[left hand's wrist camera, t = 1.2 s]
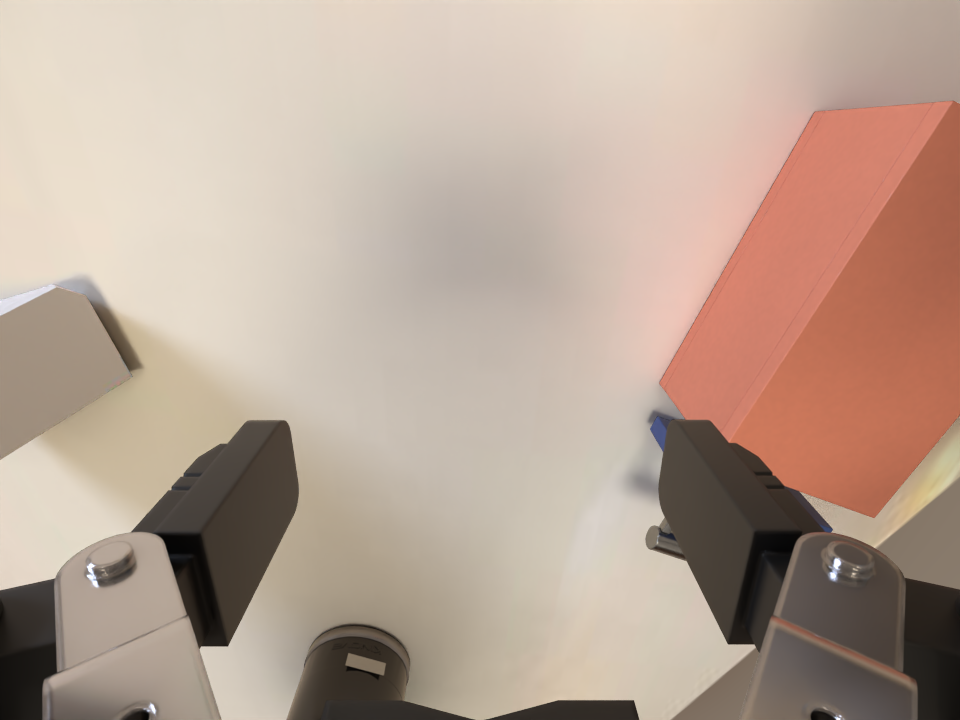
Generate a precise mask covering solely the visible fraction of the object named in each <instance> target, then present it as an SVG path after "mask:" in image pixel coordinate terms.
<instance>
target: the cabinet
mask: <svg viewBox="0 0 960 720" xmlns="http://www.w3.org/2000/svg"><path fill="white" fill-rule="evenodd" d="M659 384H660V385H661V386H662V388H663V389H664V390H665V392H666V393H667V394H668V396H669V397H670V398H671V400H672V401H673V403H674V404H675V405H676V407H677V408H678V409H679V411H680V412H681V414H682V415H683V416H684V418H685V419H686V420H710V421H711V422H712V423H713V424H714V425H715V427H716V428H717V429H718V430H719V431H720V433H721V434H722V435H723V436H724V437H725V439H726V440H727V441H728V442H729V443H737V444H739V445H740V446H742V447H744V448H745V449H747V450H749V451H750V452H752V453H754V454H755V455H757V456H758V457H759V458H760V459H761V460H762V461H763V462H764V463H765V464H766V466H767V467H768V468H769V469H770V470H771V471H772V472H773V476H776V477H777V478H778V479H779V480H780V481H781V482H782V484H783V485H784V486H786V487H789V488H792V489H795V490H797V491H800V492H803V493H806V494H808V495H811V496H814V497H817V498H820V499H822V500H825V501H828V502H831V503H834V504H836V505H839V506H842V507H845V508H847V509H850V510H853V511H856V512H859V513H861V514H864V515H867V516H870V517H873V518H875V517H876V515H877V514H878V513H879V512H880V511H881V509H882V508H883V507H884V506H885V505H886V503H887V502H888V501H889V500H890V499H891V497H892V496H893V495H894V494H895V492H896V491H897V490H898V489H899V488H900V486H901V485H902V484H903V483H904V482H905V480H906V479H907V478H908V477H909V476H910V474H911V473H912V472H913V471H914V470H915V468H916V467H917V466H918V465H919V464H920V462H921V461H922V460H923V459H924V458H925V456H926V455H927V454H928V453H929V451H930V450H931V449H932V448H933V447H934V445H935V444H936V443H937V442H938V441H939V439H940V438H941V437H942V436H943V435H944V433H945V432H946V431H947V430H948V429H949V427H950V426H951V425H952V424H953V423H954V421H955V420H956V419H957V418H958V417H959V415H960V104H959V103H957V102H955V101H944V102H935V103H921V104H908V105H896V106H883V107H870V108H858V109H845V110H832V111H818V112H814V114H813V116H812V118H811V119H810V121H809V123H808V125H807V126H806V128H805V130H804V132H803V133H802V135H801V137H800V139H799V140H798V142H797V144H796V146H795V147H794V149H793V151H792V153H791V154H790V156H789V158H788V160H787V161H786V163H785V165H784V166H783V168H782V170H781V172H780V173H779V175H778V177H777V179H776V180H775V182H774V184H773V186H772V187H771V189H770V191H769V193H768V194H767V196H766V198H765V200H764V201H763V203H762V205H761V207H760V208H759V210H758V212H757V214H756V215H755V217H754V219H753V221H752V222H751V224H750V226H749V228H748V229H747V231H746V233H745V235H744V236H743V238H742V240H741V242H740V243H739V245H738V247H737V249H736V250H735V252H734V254H733V256H732V257H731V259H730V261H729V262H728V264H727V266H726V268H725V269H724V271H723V273H722V275H721V276H720V278H719V280H718V282H717V283H716V285H715V287H714V289H713V290H712V292H711V294H710V296H709V297H708V299H707V301H706V303H705V304H704V306H703V308H702V310H701V311H700V313H699V315H698V317H697V318H696V320H695V322H694V324H693V325H692V327H691V329H690V331H689V332H688V334H687V336H686V338H685V339H684V341H683V343H682V345H681V346H680V348H679V350H678V352H677V353H676V355H675V357H674V359H673V360H672V362H671V364H670V365H669V367H668V369H667V371H666V372H665V374H664V376H663V378H662V379H661V381H660V383H659Z"/></svg>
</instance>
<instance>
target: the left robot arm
mask: <svg viewBox="0 0 960 720" xmlns="http://www.w3.org/2000/svg"><path fill="white" fill-rule="evenodd" d="M298 494H299V486H298V478H297V471H296V464H295V458H294V451H293V444H292V438H291V431H290V427H289V425H288V423H287V422H286V421H284V420H250V421H247V422H246V423H245V424H244V425H243V426H242V427H241V428H240V430H239V431H238V432H237V433H236V434H235V435H234V437H233V438H232V439H231V440H230V441H229V443H228V444H219V445H218V446H216V447H215V448H213V449H211V450H210V451H208V452H206V453H205V454H203V455H201V456H200V457H198V458H197V459H196V460H195V462H194V463H193V464H192V465H191V466H190V467H189V468H188V469H187V470H186V472H185V473H184V476H183V477H180V478H179V479H178V480H177V482H176V483H175V484H174V485H173V486H172V490H168V492H167V493H166V494H165V495H164V496H163V497H162V498H161V499H160V500H159V502H158V503H157V504H156V505H155V506H154V507H153V508H152V509H151V510H150V512H149V513H148V514H147V515H146V516H145V517H144V518H143V519H142V521H141V522H140V523H139V524H138V525H137V526H136V527H135V528H134V529H133V531H132V532H131V533H124V534H120V535H116V536H112V537H109V538H106V539H104V540H101V541H99V542H96V543H94V544H92V545H90V546H88V547H87V548H85V549H83V550H82V551H80V552H79V553H77V554H76V555H74V556H73V557H72V558H71V559H70V560H68V561H67V562H66V563H65V564H64V565H63V566H62V568H61V569H60V570H59V572H58V573H57V576H56V578H55V579H51V580H47V581H42V582H37V583H33V584H28V585H24V586H19V587H14V588H10V589H5V590H0V720H221V717H220V714H219V710H218V707H217V704H216V701H215V698H214V695H213V691H212V688H211V685H210V682H209V679H208V675H207V672H206V669H205V666H204V663H203V660H202V656H201V653H200V650H199V649H200V647H201V646H228V645H229V643H230V641H231V639H232V637H233V635H234V633H235V631H236V629H237V627H238V625H239V623H240V621H241V619H242V617H243V615H244V613H245V611H246V609H247V607H248V605H249V603H250V601H251V599H252V597H253V595H254V593H255V591H256V589H257V587H258V585H259V583H260V581H261V579H262V577H263V575H264V573H265V571H266V569H267V567H268V565H269V563H270V561H271V559H272V557H273V555H274V553H275V551H276V549H277V547H278V545H279V543H280V541H281V539H282V537H283V535H284V534H285V532H286V530H287V528H288V526H289V524H290V522H291V520H292V518H293V516H294V513H295V511H296V507H297V503H298ZM659 500H660V505H661V509H662V512H663V514H664V516H665V518H666V520H667V522H668V524H669V526H670V528H671V530H672V532H673V534H674V536H675V538H676V540H677V542H678V544H679V546H680V548H681V550H682V552H683V554H684V556H685V558H686V560H687V562H688V565H689V567H690V569H691V571H692V573H693V575H694V577H695V579H696V581H697V583H698V585H699V587H700V589H701V591H702V593H703V595H704V597H705V599H706V601H707V603H708V605H709V607H710V609H711V611H712V613H713V615H714V617H715V619H716V621H717V623H718V625H719V627H720V629H721V631H722V633H723V635H724V637H725V639H726V641H727V643H728V644H755V646H756V648H757V650H758V652H759V656H758V660H757V663H756V666H755V669H754V672H753V675H752V679H751V682H750V685H749V688H748V691H747V695H746V698H745V701H744V704H743V707H742V710H741V714H740V717H739V720H960V590H959V589H954V588H950V587H945V586H940V585H936V584H931V583H926V582H922V581H917V580H912V579H907V578H904V576H903V573H902V572H901V570H900V569H899V568H898V566H897V565H896V564H895V563H894V562H893V561H892V560H890V559H889V558H888V557H887V556H886V555H884V554H883V553H881V552H880V551H878V550H877V549H875V548H873V547H872V546H870V545H868V544H866V543H864V542H861V541H859V540H856V539H854V538H851V537H848V536H844V535H840V534H836V533H829V532H825V531H824V530H823V528H822V527H821V526H820V525H819V524H818V523H817V522H816V521H815V519H814V518H813V517H812V516H811V515H810V514H809V513H808V512H807V510H806V509H805V508H804V507H803V506H802V505H801V504H800V503H799V501H798V500H797V499H796V498H795V497H794V496H793V495H792V494H791V492H790V491H789V490H788V489H785V488H784V485H783V484H782V482H781V481H780V480H779V479H778V478H777V477H776V476H773V472H772V471H771V470H770V469H769V468H768V467H767V466H766V464H765V463H764V462H763V461H762V460H761V459H760V458H759V457H758V456H757V455H755V454H754V453H752V452H750V451H749V450H747V449H745V448H744V447H742V446H740V445H739V444H737V443H729V442H728V441H727V440H726V439H725V437H724V436H723V435H722V434H721V433H720V431H719V430H718V429H717V428H716V427H715V425H714V424H713V423H712V422H711V421H710V420H671V421H670V422H669V424H668V427H667V431H666V438H665V445H664V451H663V458H662V465H661V472H660V479H659ZM409 670H410V662H409V657H408V655H407V653H406V651H405V649H404V648H403V647H402V645H401V644H400V643H399V642H398V641H397V640H395V639H394V638H393V637H391V636H389V635H388V634H386V633H384V632H382V631H379V630H376V629H373V628H368V627H362V626H346V627H340V628H336V629H333V630H330V631H328V632H326V633H324V634H322V635H321V636H320V637H318V638H317V639H316V640H315V641H314V642H313V644H312V645H311V647H310V649H309V651H308V654H307V657H306V660H305V664H304V670H303V673H302V676H301V679H300V682H299V685H298V688H297V690H296V693H295V696H294V699H293V702H292V705H291V708H290V711H289V714H288V717H287V720H474V719H469V718H466V717H462V716H458V715H454V714H451V713H447V712H443V711H439V710H436V709H432V708H428V707H424V706H421V705H417V704H413V703H409V702H406V701H404V698H405V690H406V685H407V682H408V677H409ZM486 720H639V717H638V713H637V710H636V706H635V703H634V700H558V701H554V702H551V703H547V704H543V705H539V706H536V707H532V708H528V709H524V710H521V711H517V712H513V713H509V714H506V715H502V716H498V717H494V718H491V719H486Z"/></svg>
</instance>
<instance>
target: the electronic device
mask: <svg viewBox="0 0 960 720" xmlns="http://www.w3.org/2000/svg"><path fill="white" fill-rule="evenodd" d="M131 377H132V375H131V373H130V371H129V370H128V368H127V366H126V364H125V363H124V361H123V359H122V357H121V356H120V354H119V352H118V351H117V349H116V347H115V345H114V344H113V342H112V340H111V338H110V337H109V335H108V333H107V331H106V330H105V328H104V326H103V324H102V323H101V321H100V319H99V317H98V316H97V314H96V312H95V311H94V309H93V307H92V305H91V304H90V302H89V300H88V298H87V297H86V295H83V294H80V293H77V292H74V291H71V290H68V289H65V288H62V287H59V286H56V285H53V284H52V285H49V286H46V287H42V288H39V289H36V290H32V291H29V292H26V293H22V294H19V295H16V296H12V297H9V298H6V299H2V300H0V460H1V459H2V458H4V457H5V456H7V455H9V454H10V453H12V452H13V451H15V450H16V449H18V448H20V447H21V446H23V445H24V444H26V443H28V442H29V441H31V440H32V439H34V438H36V437H37V436H39V435H40V434H42V433H44V432H45V431H47V430H48V429H50V428H52V427H53V426H55V425H56V424H58V423H59V422H61V421H63V420H64V419H66V418H67V417H69V416H71V415H72V414H74V413H75V412H77V411H79V410H80V409H82V408H83V407H85V406H87V405H88V404H90V403H91V402H93V401H95V400H96V399H98V398H99V397H101V396H102V395H104V394H106V393H107V392H109V391H110V390H112V389H114V388H115V387H117V386H118V385H120V384H122V383H123V382H125V381H126V380H128V379H130V378H131Z"/></svg>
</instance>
